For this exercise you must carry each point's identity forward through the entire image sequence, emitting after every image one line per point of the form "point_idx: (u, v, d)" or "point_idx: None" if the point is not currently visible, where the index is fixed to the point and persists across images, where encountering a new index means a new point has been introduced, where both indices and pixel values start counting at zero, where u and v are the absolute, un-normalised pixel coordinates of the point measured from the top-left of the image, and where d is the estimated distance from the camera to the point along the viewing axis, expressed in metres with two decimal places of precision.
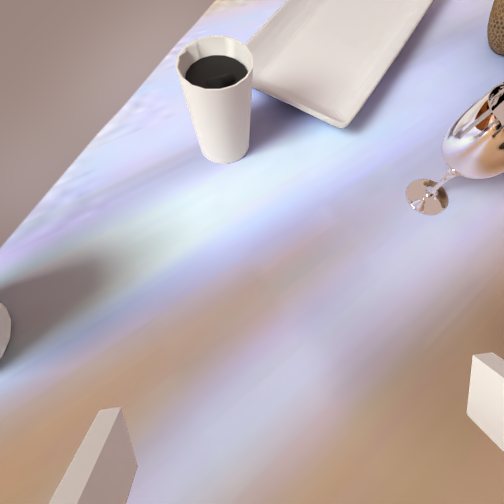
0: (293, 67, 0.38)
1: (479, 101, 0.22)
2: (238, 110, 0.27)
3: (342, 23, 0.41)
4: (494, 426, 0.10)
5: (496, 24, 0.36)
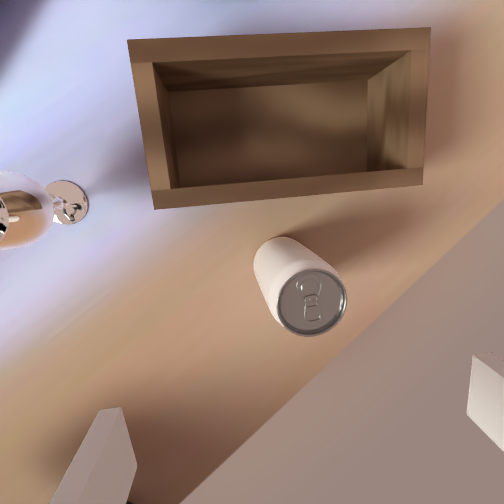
0: None
1: None
2: None
3: None
4: (494, 426, 0.10)
5: None
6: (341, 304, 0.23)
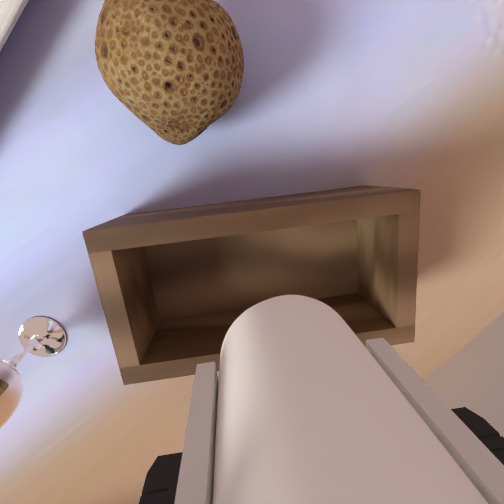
0: None
1: None
2: None
3: None
4: None
5: None
6: None
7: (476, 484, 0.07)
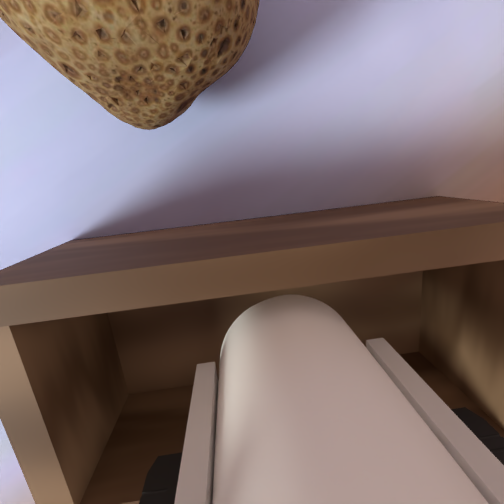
0: None
1: None
2: None
3: None
4: None
5: None
6: None
7: (476, 484, 0.07)
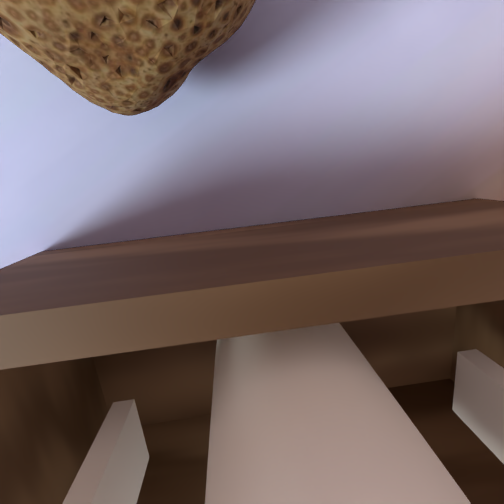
0: None
1: None
2: None
3: None
4: (477, 421, 0.11)
5: None
6: None
7: None
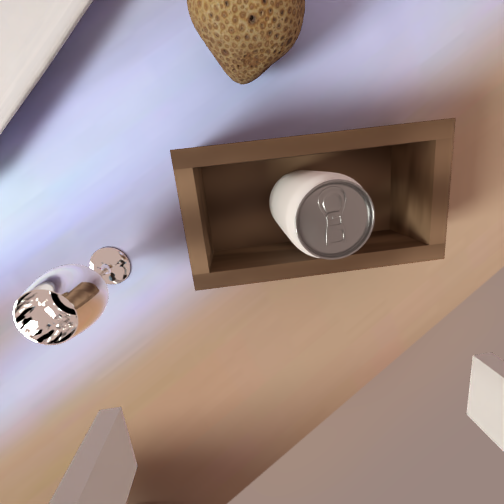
0: None
1: (18, 299, 0.22)
2: None
3: None
4: (494, 426, 0.10)
5: None
6: (368, 224, 0.21)
7: None
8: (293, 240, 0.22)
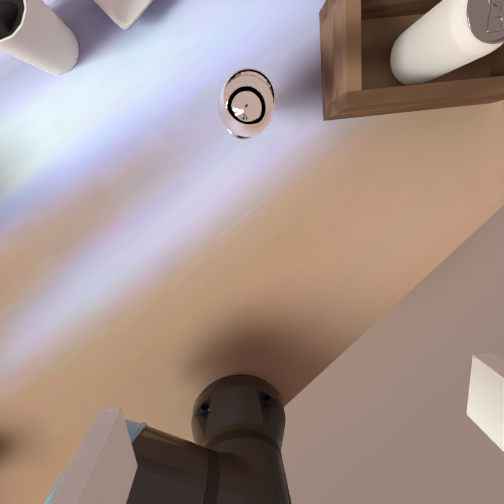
0: None
1: (225, 83, 0.26)
2: (34, 46, 0.28)
3: None
4: (494, 426, 0.10)
5: None
6: None
7: None
8: (455, 33, 0.26)
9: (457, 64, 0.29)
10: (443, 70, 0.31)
